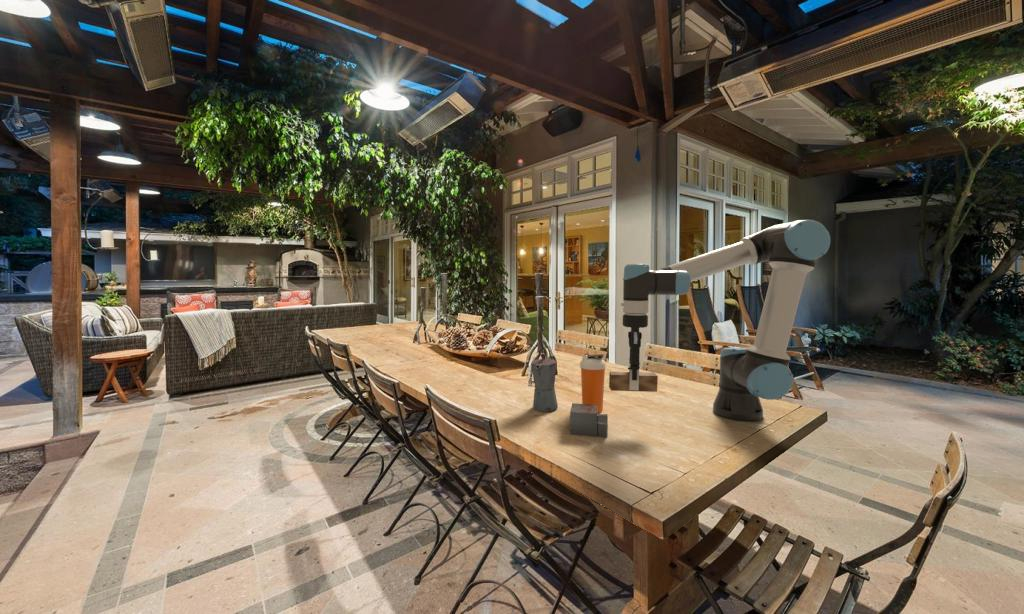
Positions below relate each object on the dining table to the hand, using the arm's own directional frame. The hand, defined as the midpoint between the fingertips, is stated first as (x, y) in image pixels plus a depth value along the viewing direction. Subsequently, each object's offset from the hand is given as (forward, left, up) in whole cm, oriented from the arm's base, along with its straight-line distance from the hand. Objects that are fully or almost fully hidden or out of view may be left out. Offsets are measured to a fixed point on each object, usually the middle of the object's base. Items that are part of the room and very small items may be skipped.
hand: (633, 387), depth 128 cm
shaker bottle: (+13, -14, -13) cm, 23 cm away
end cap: (+13, +5, -13) cm, 19 cm away
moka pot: (+30, -13, -13) cm, 35 cm away
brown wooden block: (0, 0, -1) cm, 1 cm away
